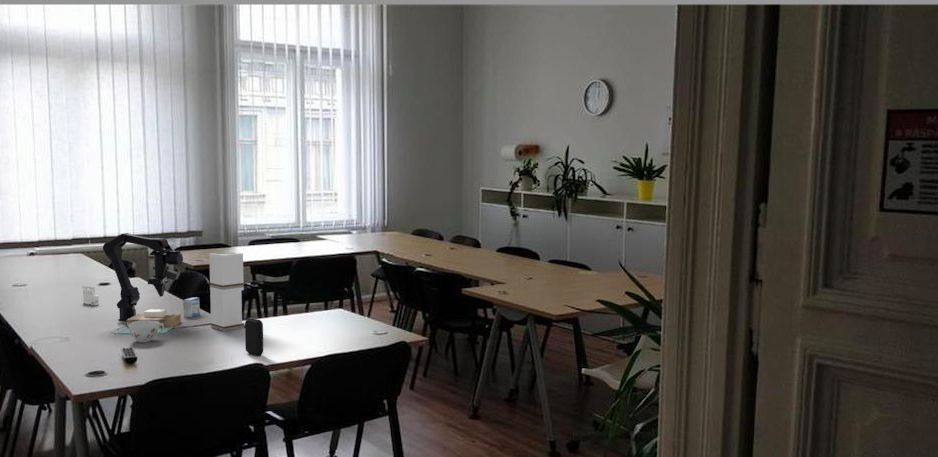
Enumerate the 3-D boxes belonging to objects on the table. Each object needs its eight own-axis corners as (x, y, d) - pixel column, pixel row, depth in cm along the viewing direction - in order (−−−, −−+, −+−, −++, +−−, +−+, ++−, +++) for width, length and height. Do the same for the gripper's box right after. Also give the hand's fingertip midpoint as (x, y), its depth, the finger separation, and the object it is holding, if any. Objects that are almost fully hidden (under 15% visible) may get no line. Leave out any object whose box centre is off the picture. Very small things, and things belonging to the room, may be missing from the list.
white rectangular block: (143, 317, 373) (143, 311, 373) (148, 314, 379) (148, 309, 379) (162, 317, 373) (162, 311, 373) (167, 314, 379) (167, 309, 379)
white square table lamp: (244, 327, 370) (242, 253, 367) (223, 331, 362) (222, 255, 359) (231, 324, 378) (230, 251, 375) (211, 327, 370) (209, 253, 367)
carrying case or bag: (242, 353, 322) (241, 317, 320) (248, 351, 324) (247, 316, 323) (259, 357, 315) (258, 320, 314) (265, 355, 318) (264, 319, 317)
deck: (127, 328, 367) (126, 319, 367) (139, 321, 381) (138, 313, 381) (170, 328, 368) (170, 319, 367) (180, 322, 382) (180, 313, 381)
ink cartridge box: (87, 303, 430) (86, 285, 429) (99, 305, 424) (98, 287, 424) (82, 303, 428) (82, 285, 427) (94, 305, 422) (94, 287, 421)
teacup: (135, 345, 333) (134, 327, 332) (124, 340, 342) (123, 322, 341) (170, 340, 343) (169, 322, 343) (158, 335, 352) (158, 317, 352)
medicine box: (191, 317, 393) (191, 300, 393) (183, 316, 394) (182, 299, 393) (199, 314, 401) (199, 297, 400) (191, 313, 402) (191, 297, 401)
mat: (113, 333, 355) (113, 333, 355) (124, 328, 367) (124, 327, 367) (162, 333, 356) (162, 333, 356) (172, 328, 368) (172, 327, 368)
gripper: (170, 267, 373) (171, 299, 374) (184, 262, 391) (184, 293, 393) (146, 267, 373) (147, 299, 374) (161, 261, 391) (162, 293, 393)
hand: (161, 296), depth 383 cm, fingers closed
